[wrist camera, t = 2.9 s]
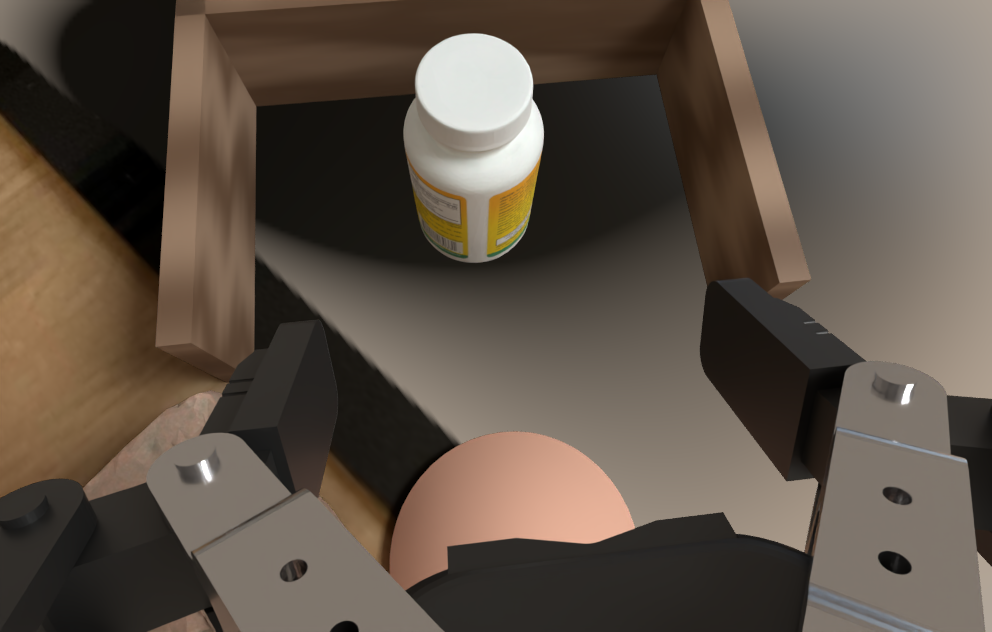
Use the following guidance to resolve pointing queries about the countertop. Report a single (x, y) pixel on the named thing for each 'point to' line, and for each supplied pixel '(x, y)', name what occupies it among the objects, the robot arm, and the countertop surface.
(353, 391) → the countertop surface
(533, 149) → the supplement bottle
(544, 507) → the pink round coaster
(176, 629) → the brick
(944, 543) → the robot arm
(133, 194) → the countertop surface
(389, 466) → the countertop surface
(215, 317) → the wooden frame
